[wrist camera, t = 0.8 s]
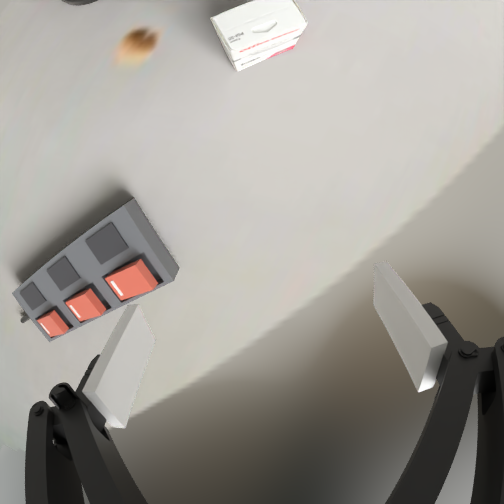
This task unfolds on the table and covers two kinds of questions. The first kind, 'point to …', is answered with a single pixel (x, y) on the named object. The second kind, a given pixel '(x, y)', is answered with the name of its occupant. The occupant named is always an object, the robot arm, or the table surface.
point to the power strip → (96, 267)
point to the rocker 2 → (85, 305)
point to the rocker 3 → (131, 280)
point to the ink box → (259, 30)
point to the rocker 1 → (53, 324)
